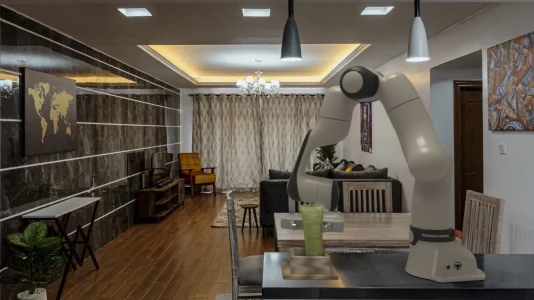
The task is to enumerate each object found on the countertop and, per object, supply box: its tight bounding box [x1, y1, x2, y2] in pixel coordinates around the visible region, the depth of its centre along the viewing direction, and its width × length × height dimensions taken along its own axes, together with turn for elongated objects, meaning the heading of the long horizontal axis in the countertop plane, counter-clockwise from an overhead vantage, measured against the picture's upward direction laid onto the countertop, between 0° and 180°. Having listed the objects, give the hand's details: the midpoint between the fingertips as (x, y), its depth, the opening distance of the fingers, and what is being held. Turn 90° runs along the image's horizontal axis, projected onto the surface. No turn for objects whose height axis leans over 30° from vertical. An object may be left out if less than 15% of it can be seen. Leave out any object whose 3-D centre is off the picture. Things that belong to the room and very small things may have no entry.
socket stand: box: [281, 246, 339, 281], centre depth 131 cm, size 16×14×6 cm
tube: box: [298, 203, 324, 257], centre depth 131 cm, size 6×5×20 cm
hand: (308, 228), depth 130 cm, fingers open, 8 cm apart
